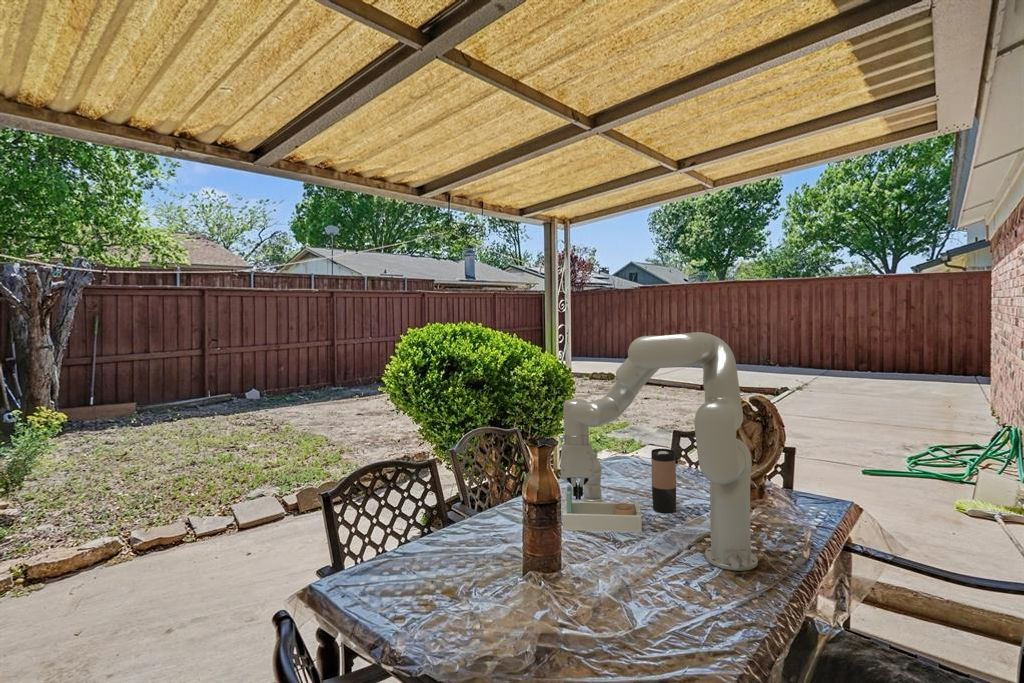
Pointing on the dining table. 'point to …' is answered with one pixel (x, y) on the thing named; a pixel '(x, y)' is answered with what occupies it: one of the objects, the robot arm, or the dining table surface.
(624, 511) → the terracotta jar
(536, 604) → the dining table surface
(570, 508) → the pusher
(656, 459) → the travel mug
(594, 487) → the plastic bottle
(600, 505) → the white open tray
